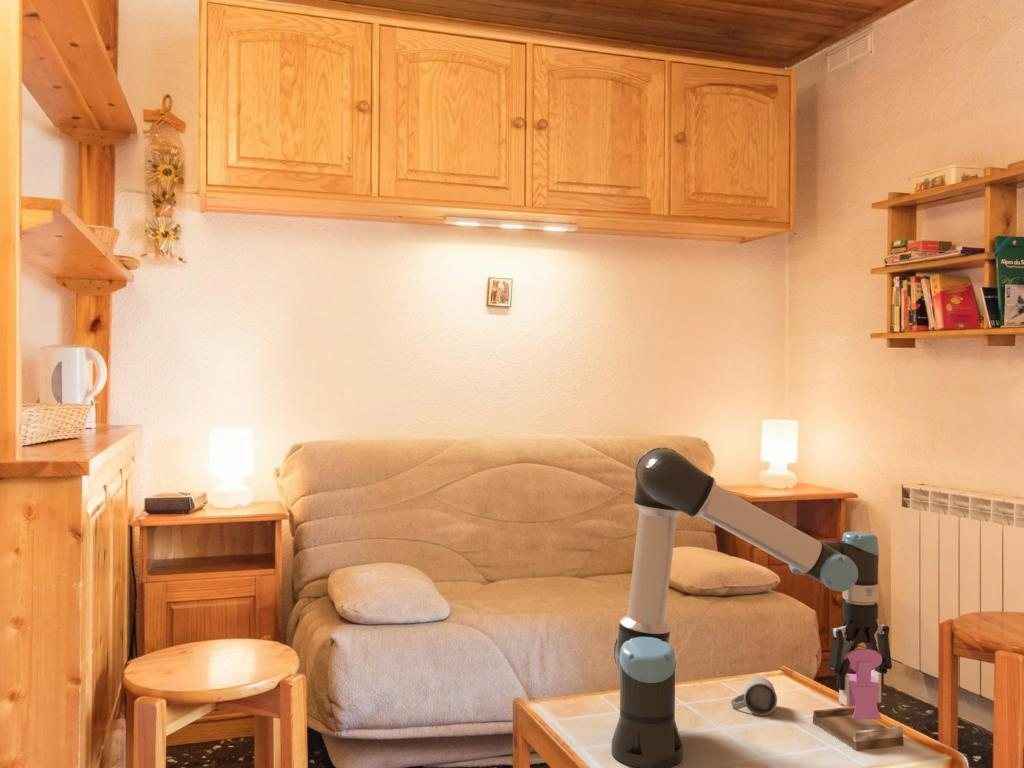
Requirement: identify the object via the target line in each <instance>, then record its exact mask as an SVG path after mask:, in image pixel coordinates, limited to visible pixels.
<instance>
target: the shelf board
mask: <svg viewBox="0 0 1024 768" xmlns="http://www.w3.org/2000/svg"><path fill="white" fill-rule="evenodd" d="M854 711H855V706H843V707H835V708H828V709H817V710H813V713H812V714H813V715H812V723H813V725H815V724H816V726H817V727H818V726H819V727H818V728H819V729H821V728H822V729H821V730H823V729H824V730H823V731H825V732H826V733H827V734H829V733H830V734H829V735H831V736H832V735H833V737H834V736H835V737H836V739H837V738H838V741H840V740H841V743H843V742H844V743H843V744H845V743H846V744H847V746H848V745H849V746H848V747H850V748H851V747H852V748H851V749H852V750H855V751H856V752H857V751H866V749H867V750H874V749H882V748H892V747H902V746H904V730H903V729H904V728H903V727H902V726H893V727H892V726H891V727H886V726H884V725H883V724H881V723H879V722H878V721H875V719H853V714H854ZM835 737H834V738H835ZM846 744H845V745H846Z"/></svg>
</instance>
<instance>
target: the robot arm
mask: <svg viewBox="0 0 1024 768" xmlns="http://www.w3.org/2000/svg"><path fill="white" fill-rule="evenodd" d="M634 476H635V477H634V478H635V481H636V482H635V491H634V500H633V504H634V506H635V507H636V509H638V512H639V513H638V521H637V523H638V524H637V530H636V538H635V539H636V540H635V547H634V554H633V555H634V556H633V561H632V562H633V563H632V572H631V581H630V587H629V596H628V606H627V613H626V615H624V616H623V617H621V618H620V619H619V625H618V631H617V637H616V639H615V643H614V645H613V658H614V662H615V665H616V669H617V671H618V675H619V718H618V721H617V724H616V727H615V730H614V732H613V735H612V738H611V755H612V757H613V758H614V759H615V760H616V761H618V762H620V763H622V764H624V765H627V766H630V767H633V768H671V767H674V766H676V765H678V764H680V763H681V762H682V761H683V758H684V746H683V742H682V738H681V736H680V733H679V730H678V729H679V728H678V726H677V723H676V714H675V710H676V669H677V668H676V667H677V660H676V653H675V650H674V648H673V646H672V645H671V644H670V636H671V634H670V633H671V627H670V625H668V623H667V622H666V611H667V610H666V609H667V604H668V603H667V602H668V595H669V587H670V579H671V569H672V563H673V562H672V561H673V553H674V544H675V537H676V529H677V520H678V517H679V515H681V514H683V513H684V514H686V515H688V516H689V517H691V518H698V517H701V518H703V519H705V520H706V521H709V522H710V523H712V524H714V525H716V526H718V527H719V528H721V529H723V530H725V531H727V532H728V533H730V534H732V535H734V536H736V537H737V538H740V539H741V540H744V541H745V542H747V543H749V544H751V545H752V546H754V547H756V548H758V549H760V550H761V551H763V552H765V553H767V554H768V555H770V556H772V557H775V558H776V559H777V560H779V561H782V562H783V563H785V564H786V565H788V567H789V569H790V571H791V573H792V574H795V575H802V576H808V577H810V578H812V579H814V580H816V581H817V582H818V583H819V582H820V583H821V584H823V586H825V587H826V588H828V589H830V590H832V591H835V592H842V598H843V601H842V617H843V623H842V625H841V626H840V627H834V626H832V627H831V629H830V632H831V637H832V638H831V645H830V651H829V661H828V671H829V672H832V673H833V674H835V675H836V689H838V693H839V694H838V702H839V703H840V704H841V703H842V704H844V705H846V706H845V707H850V706H849V689H850V677H849V676H847V675H846V674H848V671H849V669H850V668H849V665H850V661H849V659H848V657H847V658H846V660H845V659H844V657H845V655H846V654H847V653H849V652H850V651H853V650H856V649H858V647H859V644H864V645H865V649H871V650H874V651H877V652H878V653H880V654H881V656H882V663H881V664H880V665H879V666H878V667H876V668H875V669H873V670H872V671H871V677H872V678H873V679H874V680H876V681H877V682H878V683H879V689H880V691H879V694H878V698H877V704H878V703H879V704H880V703H882V687H884V683H885V680H884V679H885V675H886V674H888V670H891V669H892V667H893V666H892V665H893V664H892V655H891V649H890V641H889V633H890V627H889V626H888V625H885V624H883V623H878V619H879V604H878V603H877V602H878V601H879V557H880V553H879V551H880V550H879V540H878V537H877V536H876V534H874V533H871V532H868V531H860V530H859V531H856V530H855V531H854V530H853V531H851V530H850V531H846V532H843V534H842V538H841V540H837V541H832V540H831V541H830V540H829V541H828V540H827V541H826V540H817V539H815V538H814V537H812V536H810V535H808V534H807V533H805V532H803V531H802V530H800V529H798V528H796V527H794V526H792V525H790V524H789V523H787V522H785V521H783V520H782V519H779V518H778V517H776V516H774V515H772V514H770V513H769V512H767V511H765V510H763V509H761V508H760V507H758V506H756V505H754V504H752V503H751V502H749V501H747V500H745V499H743V498H741V497H739V496H738V495H735V494H734V493H732V492H730V491H729V490H727V489H725V488H723V487H722V486H720V485H718V484H717V482H716V478H715V477H713V476H711V475H709V474H707V473H705V472H704V471H702V470H701V469H700V468H698V467H697V466H696V465H694V464H693V463H692V462H691V461H690V460H688V459H687V458H686V457H685V456H684V455H682V454H680V453H679V452H678V451H677V450H674V449H672V448H668V447H655V448H652V449H650V450H648V451H646V452H645V453H643V454H642V455H641V457H640V458H639V459H638V461H637V462H636V465H635V470H634ZM875 635H876V636H875ZM876 639H877V640H876Z"/></svg>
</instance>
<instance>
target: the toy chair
mask: <svg viewBox="0 0 1024 768" xmlns="http://www.w3.org/2000/svg"><path fill="white" fill-rule="evenodd" d="M847 657H848V659H849V661H850V665H849V668H848V669H850V670H853V671H854V672H855V673H847V674H846V675H847V676H849V677H850V689H849V706H848V707H855V711H854V714H853V719H872V720H883V719H882V716H881V714H880V712H879V709H878V702H877V698H878V694H879V691H880V689H879V683H878V682H877V681H876V680H874V679H873V678H872V677H871V671H872V670H875V668H876V667H878V666H879V665H880V664H881V663H882V656H881V654H880V653H878V652H877V651H874V650H871V649H867V648H856V649H855V650H853V651H850V652H849V653H847V654H846V655H845V657H844V659H845V660H846V658H847ZM840 706H841V707H847V706H846V705H844V704H842V703H841V702H840Z"/></svg>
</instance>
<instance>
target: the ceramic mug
mask: <svg viewBox="0 0 1024 768" xmlns="http://www.w3.org/2000/svg"><path fill="white" fill-rule="evenodd" d="M774 687H775V686H774V685H773V684H772V682H771V681H770V680H769V679H767V678H765V677H763V676H754V677H752V678H750V679H749V680H748V681H747V682H746V684H745V685H744V690H743V691H744V693H741V694H739V695H737V696H735V697H733V698H732V699H731V701H730V704H731V706H732V709H734V710H739V709H744V708H746V709H748V711H749V712H751V713H752V714H754V715H757V716H762V715H763V716H767V715H769V714H771V713H772V712H774V710H775V709H776V707H777V704H778V696H777V692H776V690H775V688H774Z"/></svg>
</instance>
